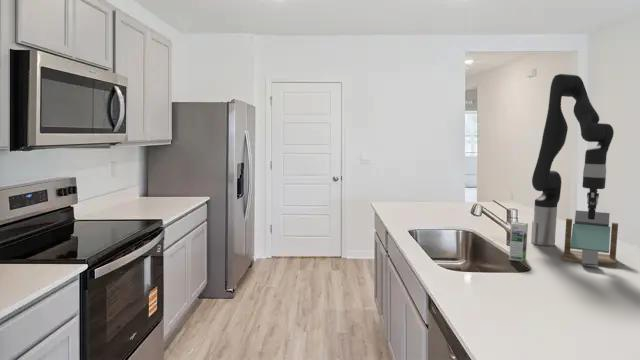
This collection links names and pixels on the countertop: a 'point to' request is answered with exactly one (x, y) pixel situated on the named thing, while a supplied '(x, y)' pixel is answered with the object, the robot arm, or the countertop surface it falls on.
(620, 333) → the countertop surface
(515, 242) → the syrup box
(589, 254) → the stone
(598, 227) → the trapdoor
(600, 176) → the robot arm
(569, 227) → the frame
